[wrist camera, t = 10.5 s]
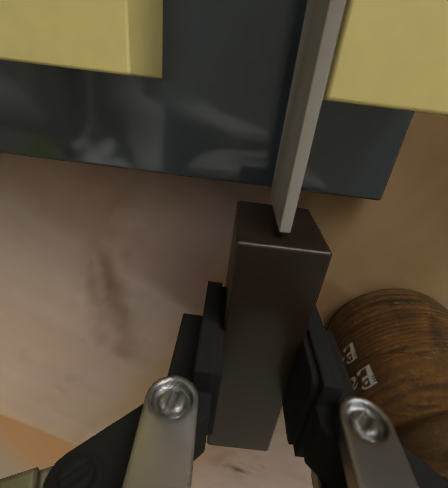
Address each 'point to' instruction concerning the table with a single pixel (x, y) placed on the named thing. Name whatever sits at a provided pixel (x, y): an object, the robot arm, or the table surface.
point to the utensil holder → (401, 365)
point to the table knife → (276, 259)
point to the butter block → (85, 34)
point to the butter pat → (392, 55)
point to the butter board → (201, 106)
